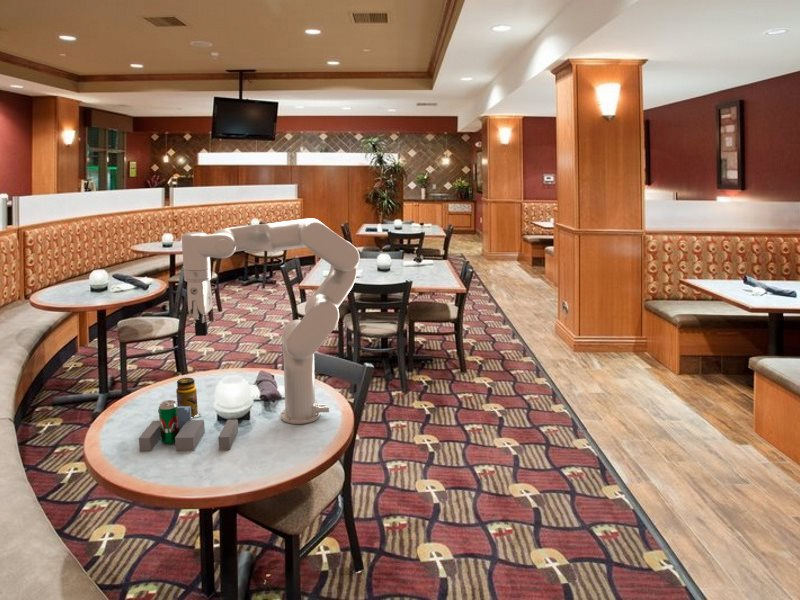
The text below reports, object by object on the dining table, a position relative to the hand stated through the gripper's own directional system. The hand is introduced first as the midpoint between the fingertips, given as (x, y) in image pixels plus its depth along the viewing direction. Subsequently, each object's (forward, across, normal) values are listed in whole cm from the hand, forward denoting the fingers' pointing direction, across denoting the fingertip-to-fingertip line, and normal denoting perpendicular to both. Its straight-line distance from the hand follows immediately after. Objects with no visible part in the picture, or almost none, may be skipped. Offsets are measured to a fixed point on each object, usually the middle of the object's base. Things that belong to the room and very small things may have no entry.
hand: (201, 334), depth 185 cm
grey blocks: (+29, -11, +2) cm, 31 cm away
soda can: (+29, -11, +8) cm, 32 cm away
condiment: (+29, +8, +9) cm, 32 cm away
